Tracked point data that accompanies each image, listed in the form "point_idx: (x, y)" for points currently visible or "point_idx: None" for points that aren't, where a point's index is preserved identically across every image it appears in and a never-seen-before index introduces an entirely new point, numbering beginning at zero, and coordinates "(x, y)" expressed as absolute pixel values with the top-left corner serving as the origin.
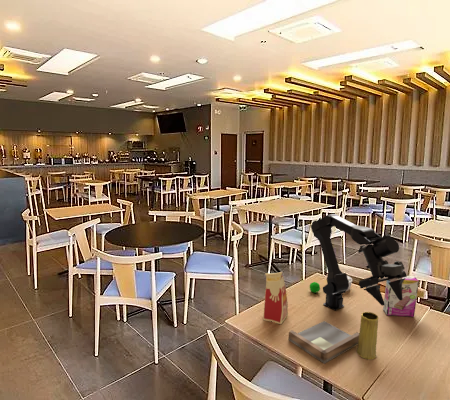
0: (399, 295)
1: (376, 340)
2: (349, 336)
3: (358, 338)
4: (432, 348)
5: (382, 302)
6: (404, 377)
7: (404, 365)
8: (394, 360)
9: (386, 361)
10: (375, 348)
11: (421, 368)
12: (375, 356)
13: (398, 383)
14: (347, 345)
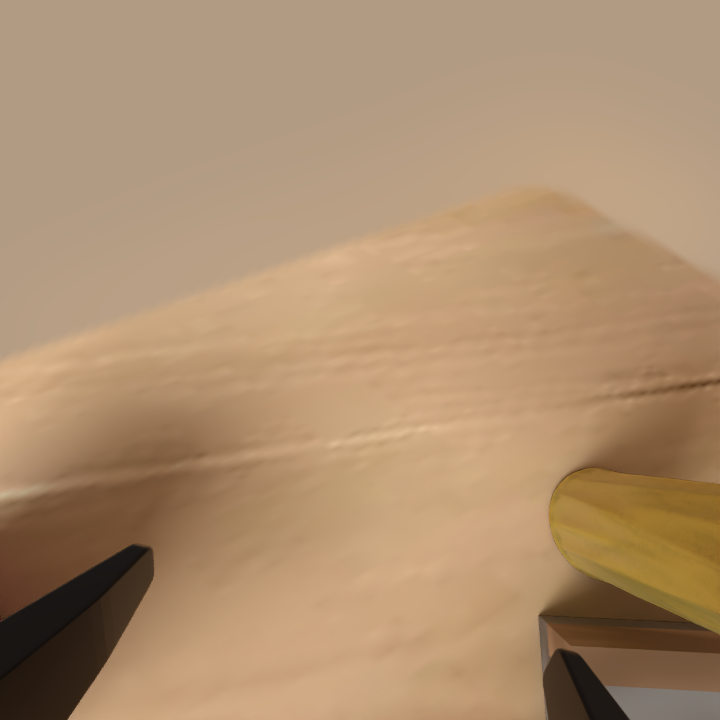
0: (94, 626)
1: (646, 484)
2: (681, 688)
3: (585, 635)
4: (248, 329)
5: (619, 706)
6: (586, 310)
7: (504, 349)
8: (510, 397)
9: (555, 418)
10: (629, 474)
11: (456, 294)
12: (592, 469)
13: (647, 307)
14: (713, 638)
